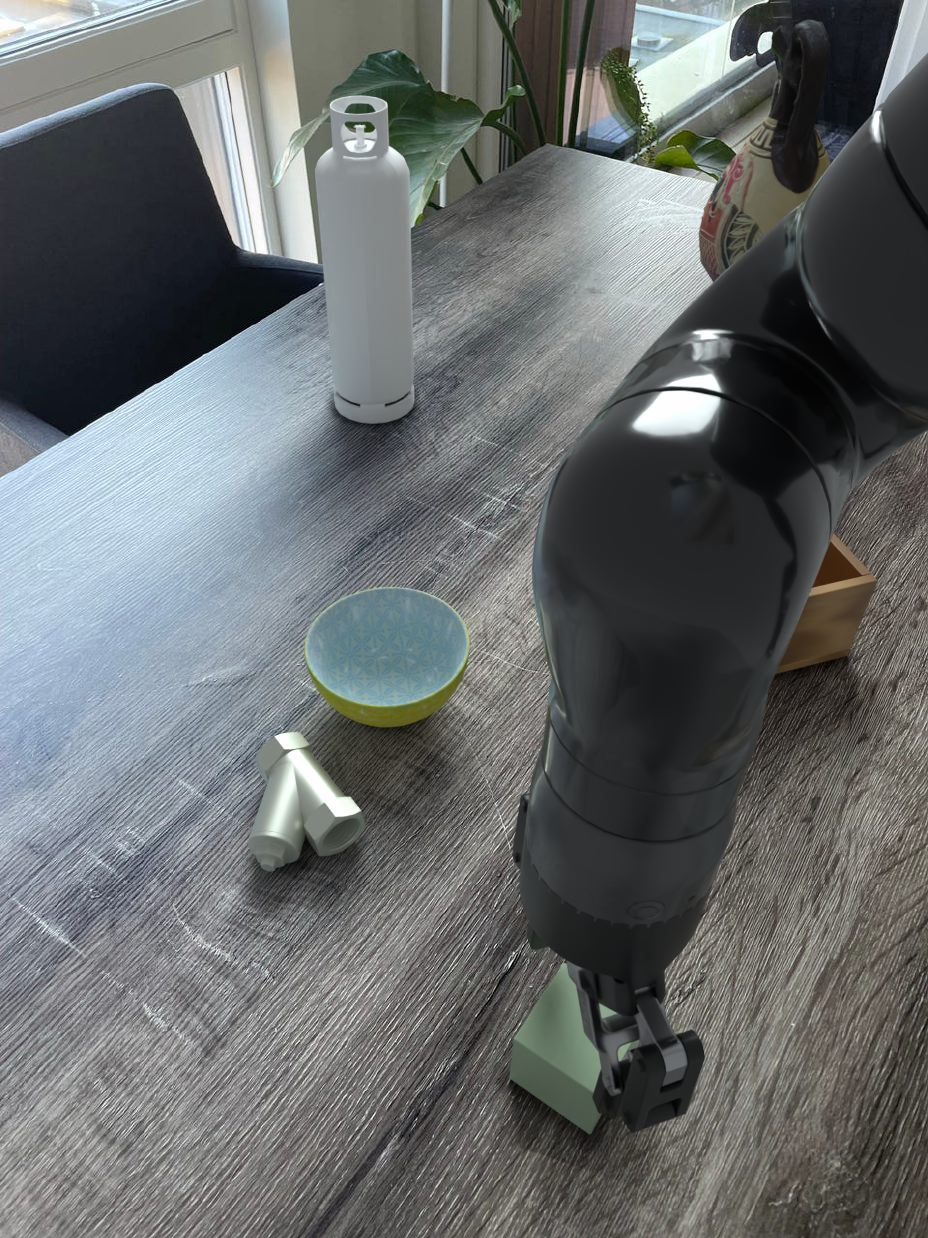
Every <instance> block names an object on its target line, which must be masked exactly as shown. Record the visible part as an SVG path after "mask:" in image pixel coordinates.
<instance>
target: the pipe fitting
mask: <svg viewBox="0 0 928 1238" xmlns="http://www.w3.org/2000/svg"><path fill="white" fill-rule="evenodd" d="M254 761H255V764H256V767H257V770H258V772H259V775H260V776H261V778H262V780H263V781H264V782H265V783H266V787H265V789H264V792H263V796H262V799H261V801H260V804H259V807H258V810H257V813H256V815H255V819H254V822H253V825H252V827H251V830H250V833H249V837H248V840H247V849H248V850H249V851H250V852H251V854H253V855H255V858H256V860H257V863H259V864H260V869H262V870H263V871H266V872H274V871H276V869H278V868H281V867H284V866H286V864H291V863H294V862H297V861H298V859H299V858H300V856H301V852H302V848H303V845H304V842H305V838H306V839H307V841H308V843H309V844H310V846H311V847H312V849H313V850H314V851H315V853H316V855H318V857H328V856H334V855H337V854H339V853H341V852H343V851H345V850H346V849H348V848H349V847H350V846H352V845H353V844H354V843H355V842H356V841H357V840H358V839H359V837H360V836H361V834H363V831H364V830H365V828H366V824H365V818H364V815H363V812H362V810H361V809H360V807H359V806H358V804H357V803H356V802H355V801H354V800H353V798H352V797H351V796H345V794H344V793H343V792H342V790H341V789H340V787H339V786H338V785H337V784H336V782H335V781H334V780H333V779H332V778H331V776H330V775H329V773H328V772H327V771H326V770H325V768H324V767H323V766H322V764H321V763H320V762H319V761H318V759H317V758H316V757H315V756H314V754H313V750H312V748H311V745H310V743H309V742H308V741H307V739H306V738H305V737H304V736H303V735H302V733H301V732H300V731H291V732H290V731H289V732H284V733H279V734H277V735H274V736H273V737H271V738H270V739H269V740H268V741H267V742H265V744H264V745H263V746H262V747H261V748H260V749H259V751H258V752H257V754H256V755H255V757H254Z"/></svg>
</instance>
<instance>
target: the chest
mask: <svg viewBox="0 0 928 1238" xmlns="http://www.w3.org/2000/svg"><path fill="white" fill-rule="evenodd" d="M878 582H879V581H878V579H877V578H876V577H875V575H873V574H872V573H871V571H870V570H869V569H868V568H867V567H866V566H865V565H864V564H863V563H862V562H861V560H859V559H858V558H857V556H856V555H855V554H854V553H853V552H852V551H851V550H850V548H848V547H847V546H846V545H845V544H844V543H843V541H842V540H841V539H840V538H839V537H838V536H837V535H836V533H835V532H834V533H833V536H832V538H831V541H830V544H829V546H828V549H827V551H826V554H825V556H824V559H823V562H822V564H821V567H820V569H819V572H818V574H817V577H816V579H815V582H814V584H813V587H812V589H811V592H810V594H809V597H808V599H807V602H806V604H805V606H804V609H803V611H802V614H801V616H800V618H799V621H798V623H797V625H796V628H795V630H794V633H793V635H792V637H791V640H790V642H789V644H788V647H787V649H786V651H785V653H784V656H783V658H782V660H781V663H780V665H779V667H778V670H777V672H776V674H775V675H777V674H782V673H785V672H790V671H794V670H798V669H802V668H806V667H809V666H813V665H817V664H821V663H825V662H828V661H832V660H836V659H837V660H838V659H840V658H845V657H847V656H848V655H849V653H850V650H851V648H852V645H853V643H854V641H855V638H856V636H857V633H858V630H859V628H860V627H861V623H862V621H863V619H864V616H865V614H866V612H867V609H868V607H869V604H870V602H871V599H872V596H873V594H874V592H875V589H876V587H877V585H878Z"/></svg>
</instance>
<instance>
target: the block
mask: <svg viewBox="0 0 928 1238" xmlns="http://www.w3.org/2000/svg"><path fill="white" fill-rule="evenodd" d="M599 1006H600V1012H601V1018H606V1017H609V1016H612V1015H615V1014H618V1013H616V1012H614V1011H612V1010H610V1009H609V1008H607V1007H605V1006H603V1005H601V1004H599ZM639 1045H640V1042H639V1040H637V1041H634V1042H631V1043H628V1044H625V1045H623V1046H621V1047H620V1048H619V1050H618V1059H619V1061H622V1060H625V1059H627V1058H628V1057H627V1051H628V1050H631V1049H634V1048H637V1047H639ZM509 1069H510V1070H509V1076H508V1077H509V1079H510V1080H511V1081H513V1082H514V1083H515V1084H517V1085H518V1086H520V1087H521V1088H522V1089H524V1090H525V1091H527V1092H528V1093H530V1094H531V1095H533V1096H534V1097H535V1098H536V1099H538V1100H540V1101H541V1102H542V1103H544V1104H546V1106H548V1107H549V1108H550V1109H553V1110H554V1111H555V1112H557V1113H558V1114H560V1116H562V1117H564V1118H565V1119H567V1120H568V1121H570V1122H571V1123H573V1124H574V1125H575V1126H577V1127H578V1128H580V1129H581V1130H582V1131H584V1132H585V1133H586V1134H588V1135H592V1132H593V1131H594V1129H595V1127H596V1125H597V1124H598V1122H599V1120H600V1118H601V1116H602V1115H603V1113H602V1114H599V1113H598V1111H597V1109H596V1106H595V1104H594V1101H593V1099H592V1096H593V1093H594V1090H595V1086H596V1083H597V1080H598V1076H599V1073H600V1070H601V1065H600V1059H599V1053H598V1050H597V1049H596V1048H595V1047H594V1046H593V1044H592V1043H591V1042H590V1040H589V1039H588V1038H587V1036H586V1035H585V1033H584V1030H583V1024H582V1018H581V1012H580V1006H579V1000H578V994H577V989H576V985H575V984H574V982H573V981H572V980H571V979H570V977H569V975H568V969H567V963H566V962H563V963H562V965H561V966H560V967H559V969H558V971H557V972H556V974H555V975H554V977H553V978H552V980H551V981H550V983H549V984H548V986H547V987H546V989H545V991H544V992H543V994H542V995H541V996H540V998H539V999H538V1001H537V1003H536V1004H535V1006H534V1007H533V1008H532V1010H531V1011H530V1013H529V1015H528V1016H527V1018H526V1019H525V1021H524V1022H523V1024H522V1025H521V1027H520V1028H519V1030H518V1031H517V1033H516V1034H515V1036H514V1038H513V1044H512V1052H511V1060H510V1068H509Z"/></svg>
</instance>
